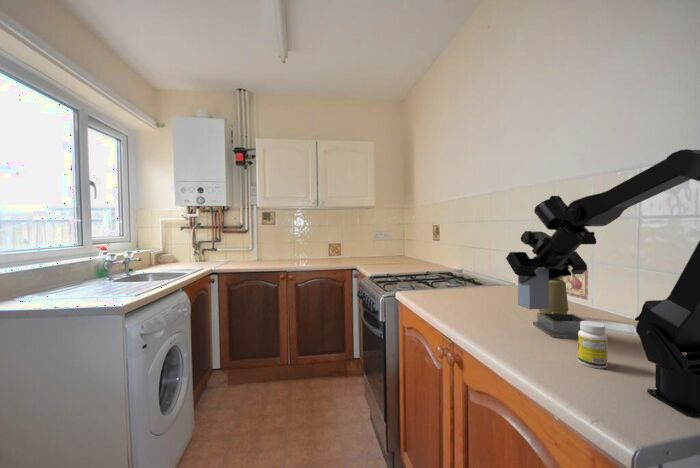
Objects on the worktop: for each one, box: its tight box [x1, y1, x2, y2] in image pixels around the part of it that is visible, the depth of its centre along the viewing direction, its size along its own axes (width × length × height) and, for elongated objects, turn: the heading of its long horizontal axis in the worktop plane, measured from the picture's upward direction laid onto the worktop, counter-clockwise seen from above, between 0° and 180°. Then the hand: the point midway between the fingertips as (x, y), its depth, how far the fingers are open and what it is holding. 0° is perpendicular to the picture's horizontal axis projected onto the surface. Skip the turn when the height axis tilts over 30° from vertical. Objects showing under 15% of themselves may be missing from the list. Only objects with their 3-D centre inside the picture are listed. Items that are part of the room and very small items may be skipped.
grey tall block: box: [517, 257, 549, 310], centre depth 79 cm, size 4×6×13 cm
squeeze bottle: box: [538, 277, 569, 314], centre depth 91 cm, size 8×8×18 cm
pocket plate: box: [532, 312, 588, 340], centre depth 80 cm, size 10×11×4 cm
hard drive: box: [580, 316, 639, 337], centre depth 83 cm, size 2×8×12 cm
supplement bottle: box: [577, 321, 608, 369], centre depth 61 cm, size 5×5×8 cm
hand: (529, 281), depth 81 cm, fingers closed on grey tall block, 5 cm apart
